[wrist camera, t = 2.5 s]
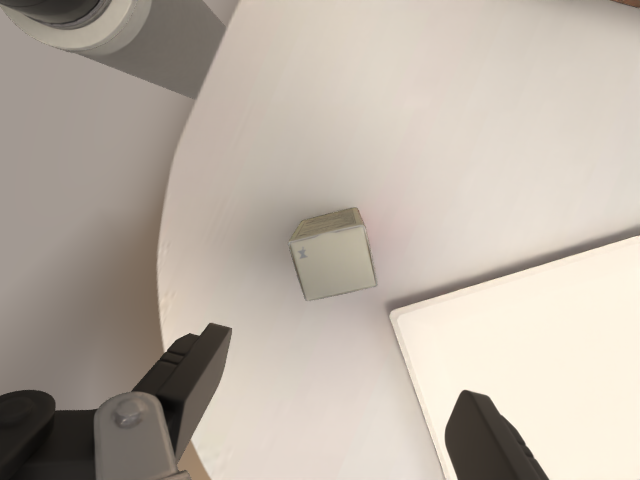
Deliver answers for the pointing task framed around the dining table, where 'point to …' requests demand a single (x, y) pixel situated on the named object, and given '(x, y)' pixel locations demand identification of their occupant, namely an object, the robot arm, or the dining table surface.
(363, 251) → the small box
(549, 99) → the dining table surface
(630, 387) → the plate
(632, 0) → the shelf
